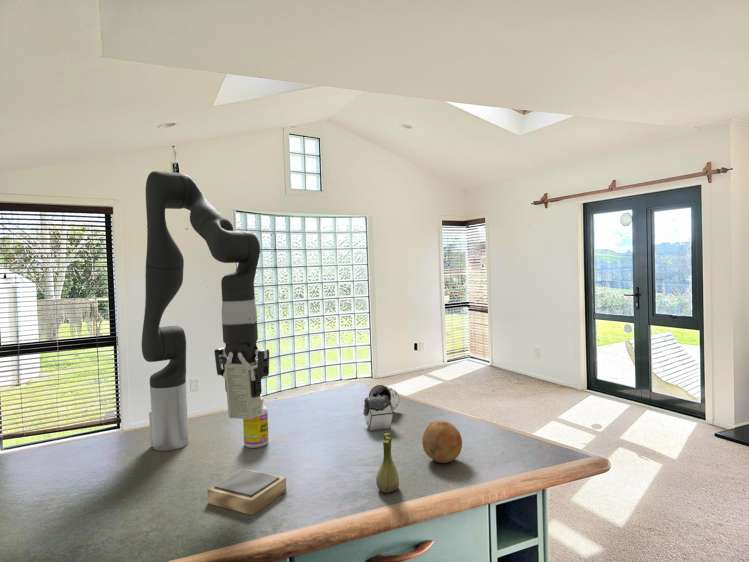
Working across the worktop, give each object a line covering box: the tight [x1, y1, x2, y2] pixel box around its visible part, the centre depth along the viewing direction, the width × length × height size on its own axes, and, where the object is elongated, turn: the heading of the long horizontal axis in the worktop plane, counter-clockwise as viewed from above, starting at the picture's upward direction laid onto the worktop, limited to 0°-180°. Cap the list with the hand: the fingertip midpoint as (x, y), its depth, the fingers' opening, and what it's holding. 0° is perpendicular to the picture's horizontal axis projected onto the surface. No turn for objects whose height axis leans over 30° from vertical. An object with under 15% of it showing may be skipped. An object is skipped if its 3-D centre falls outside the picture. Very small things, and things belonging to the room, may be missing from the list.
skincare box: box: [224, 362, 262, 420], centre depth 109 cm, size 6×4×12 cm
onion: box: [421, 420, 463, 464], centre depth 121 cm, size 10×10×10 cm
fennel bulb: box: [375, 432, 400, 494], centre depth 106 cm, size 6×5×12 cm
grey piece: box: [362, 384, 400, 432], centre depth 153 cm, size 25×10×10 cm, turn 172°
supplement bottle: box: [242, 395, 269, 449], centre depth 136 cm, size 7×7×13 cm
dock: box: [206, 468, 287, 516], centre depth 105 cm, size 12×11×3 cm
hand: (243, 395), depth 109 cm, fingers closed on skincare box, 6 cm apart
